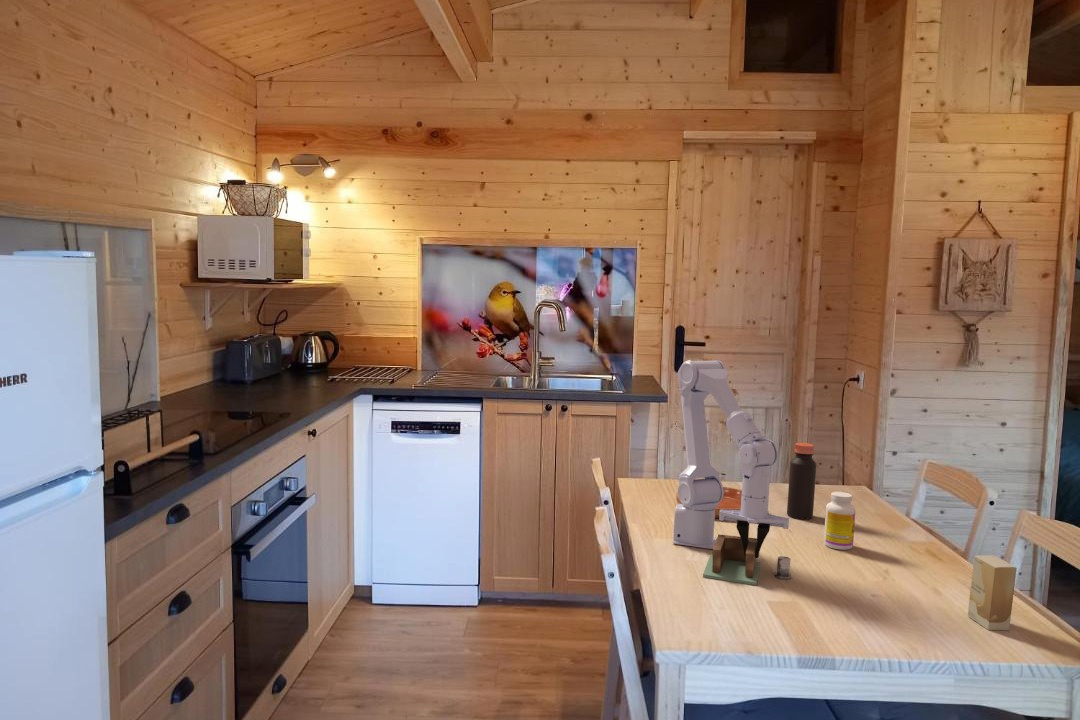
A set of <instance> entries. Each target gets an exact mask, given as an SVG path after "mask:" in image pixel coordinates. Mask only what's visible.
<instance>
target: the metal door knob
mask: <svg viewBox="0 0 1080 720" xmlns="http://www.w3.org/2000/svg"><path fill="white" fill-rule="evenodd" d="M791 560H792V559H791V558H790V557H788V556H783V555H781V556H777V564H776V572H774V577H775V578H777V579H780V580H785V581H787V580H791V579H792V574H791Z"/></svg>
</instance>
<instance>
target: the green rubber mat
mask: <svg viewBox="0 0 1080 720" xmlns="http://www.w3.org/2000/svg"><path fill="white" fill-rule="evenodd" d="M745 563H746V561H737V560H729V559H724V562H723V565H722V568H721V572H720V573H714V572H712V565H713V554H710V555H709V558H708V560H707V563H706V565H705V567H704V570H703V574H702V578H707V579H713V580H720V581H727V582H732V583H740V584H744V585H751V586H757V584H758V579H759V575H760V569H761V561H757V560H756V564H755V570H754V575H753V577H747V576H745Z"/></svg>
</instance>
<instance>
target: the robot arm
mask: <svg viewBox="0 0 1080 720" xmlns="http://www.w3.org/2000/svg"><path fill="white" fill-rule="evenodd" d="M677 378H678V387H679V395H680V400H681V410H682V421H683V431H684V432H683V433H684V443H685V450H686V451H685V453H686V462H687V467H686V468H685V469H684V470H683V471H681V473H680V474H679V475H678V487H677V492H678V497H679V500H680V501H681V503H682V504H679V503H676V505H675V510H674V520H673V538H672V539H673V541H672V544H675V545H680V546H681V545H682V546H689V547H695V548H700V549H701V548H702V549H709V550H713V548H714V545H715V542H716V540H717V536H716V537H715V536H714V535H715V534H714V533H715V508H716V507H718V503H719V502H721V500H722V499H723V494H724V490H723V487H724V486H723V483H722V481H721V477H720V473H719V472H718V470H717V469H716V468H714V467H713V466H712V465H711V460H710V450H709V439H708V429H707V419H706V410H705V400H706V398H707V397H708V396H709V395H711V396H712V397H713V398H714V400H715V401H716V403H717V405H718V406H719V408H720V409H721V411H723V413H724V415H725V416H726V417H727V419H726V422H725V423H726V424H725V426H726V427H727V429H728V432H729V433H730V435H731V437H732V438H733V441H734V442H735V444H736V445H737V447H738V449H739V450H738V451H737V458H738V461H739V464H740V472H741V474H742V482H741V490H742V496H741V511H739V510H720V513H719V518H718V519H719V520H718V521H721V522H722V521H729V522H736V526H735V527H736V530H737V532H738V534H739V537H741V540H742V544H743V548H744V556H746V550H747V546H748V538H749V535H750V524H754V525H757V528H756V538H757V545H756V552H755V558H756V559H759V556H760V551H761V549H762V545H763V543H764V541H765V540H766V538H767V536H768V534H769V532H770V529H771V527H775V528H776V527H777V528H783V529H784V530H785V529H786V530H789V524H790V517H784V516H779V515H775V514H770V513H769V499H770V498H769V497H770V487H771V486H770V482H771V481H770V480H771V468H772V467H771V466H774V464H775V463H776V462H777V460H778V450H777V447H776V445H775V442H774V441H773V440H771V439H768V438H767V437H766V436H765V435H763V434H762V433H761V431H760V429H759V427H758V426H757V424H756V422H755V421H754V418H753V417H752V415H751V414H750V413H749V412H747V411H743V410H742V409H741V406H740V405H739V403H738V401H737V399H736V397H735V395H734V393H733V390H732V388H731V386H730V385H729V382H728V380H729V379H728V378H729V372H728V370H727V369H726V366H725V364H724V362H723V361H721V360H719V359H714V360H686V361H684V362H683V363H682V364H681V365H680V367H679V369H678V371H677Z"/></svg>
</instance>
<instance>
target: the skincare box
mask: <svg viewBox="0 0 1080 720" xmlns="http://www.w3.org/2000/svg"><path fill="white" fill-rule="evenodd" d="M972 563H973V565H972V573H971V582H970V591H969V597H968V598H969V599H968V608H967V609H968V610H967V616H968V617H969V618H971V620H973V621H974V622H976V623H978V624H979V626H982V627H983V628H985V629H986V630H987V631H1010V627H1011V616H1012V609H1013V600H1014V594H1015V586H1016V585H1015V584H1016V575H1017V566H1014V565H1012V564H1011V563H1009V562H1007V561H1006V560H1004V559H1002V558H1000V557H998V556H997V555H993V554H992V555H985V554H984V555H982V554H981V555H979V554H978V555H973V561H972Z"/></svg>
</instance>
